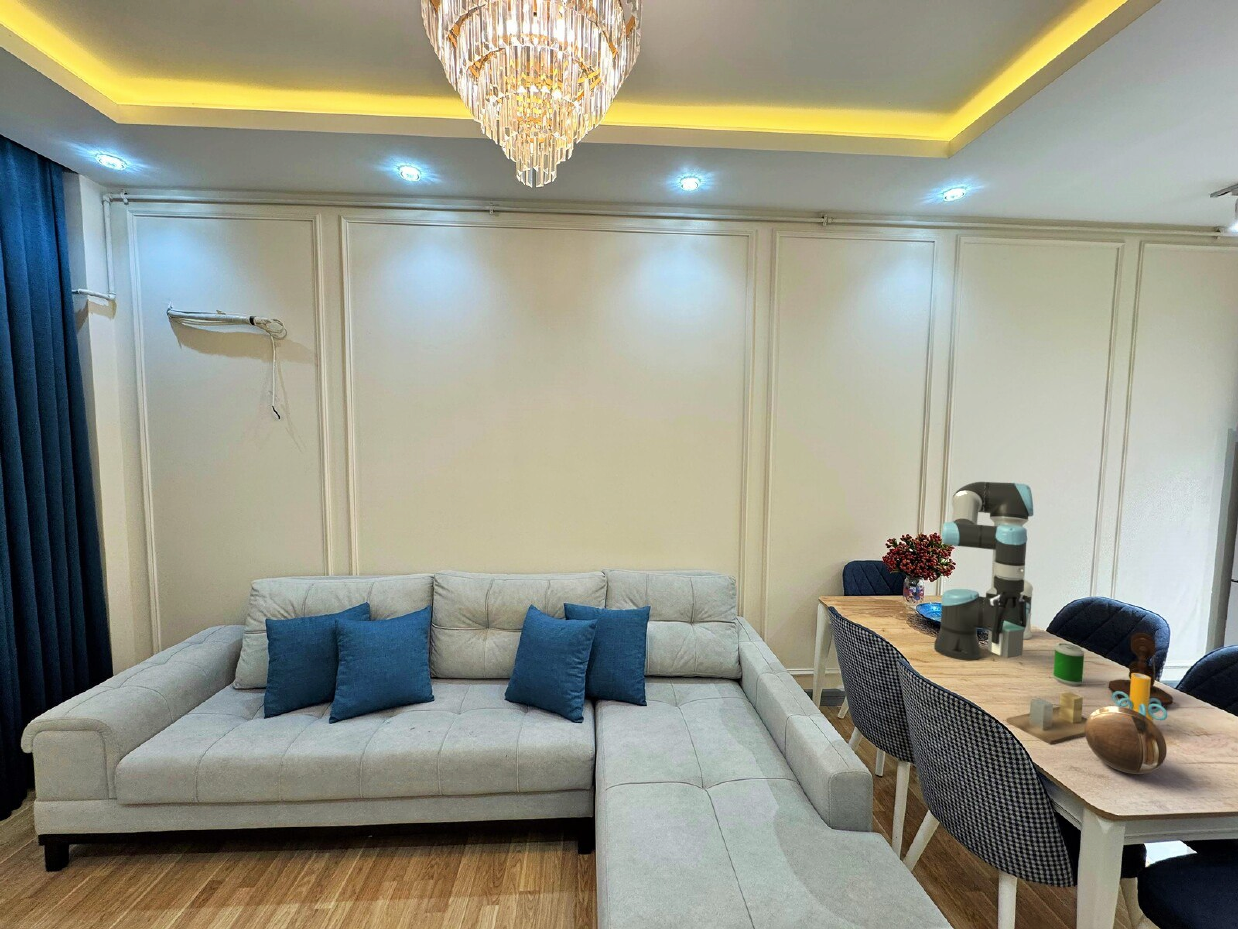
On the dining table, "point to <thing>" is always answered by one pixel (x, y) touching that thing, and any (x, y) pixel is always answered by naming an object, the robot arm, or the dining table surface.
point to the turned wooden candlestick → (1142, 670)
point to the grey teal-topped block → (1010, 640)
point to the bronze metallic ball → (1125, 740)
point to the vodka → (1028, 592)
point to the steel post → (1041, 714)
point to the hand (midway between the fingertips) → (1005, 651)
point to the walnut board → (1057, 721)
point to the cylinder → (1140, 697)
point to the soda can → (1068, 664)
